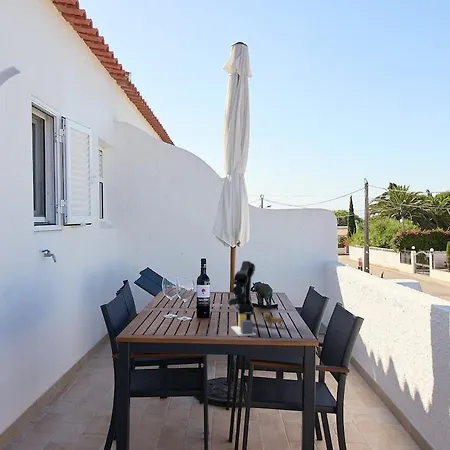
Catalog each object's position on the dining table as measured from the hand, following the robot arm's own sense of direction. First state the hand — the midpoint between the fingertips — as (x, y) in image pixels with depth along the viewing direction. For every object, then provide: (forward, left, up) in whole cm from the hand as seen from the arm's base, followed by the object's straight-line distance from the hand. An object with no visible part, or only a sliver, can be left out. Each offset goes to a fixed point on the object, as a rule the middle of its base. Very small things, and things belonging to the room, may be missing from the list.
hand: (240, 318), depth 292 cm
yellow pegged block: (+4, 0, -4) cm, 6 cm away
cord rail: (+7, 0, -7) cm, 9 cm away
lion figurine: (-2, +22, -7) cm, 23 cm away
